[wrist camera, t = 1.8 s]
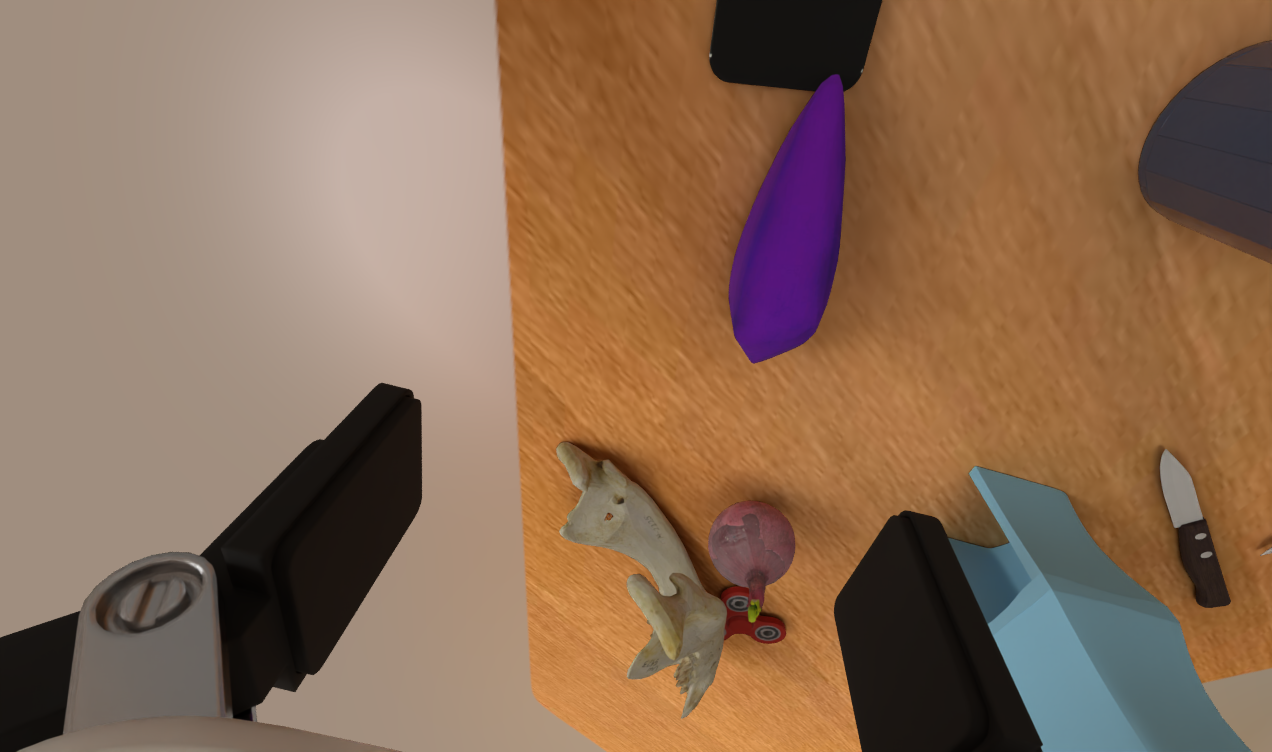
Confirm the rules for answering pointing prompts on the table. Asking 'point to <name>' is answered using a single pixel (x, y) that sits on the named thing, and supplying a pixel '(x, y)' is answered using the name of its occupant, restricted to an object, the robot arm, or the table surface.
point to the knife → (1270, 550)
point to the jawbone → (644, 534)
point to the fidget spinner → (739, 623)
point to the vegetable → (752, 548)
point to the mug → (1217, 154)
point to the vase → (1084, 633)
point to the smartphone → (792, 41)
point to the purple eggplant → (793, 233)
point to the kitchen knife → (1192, 534)
